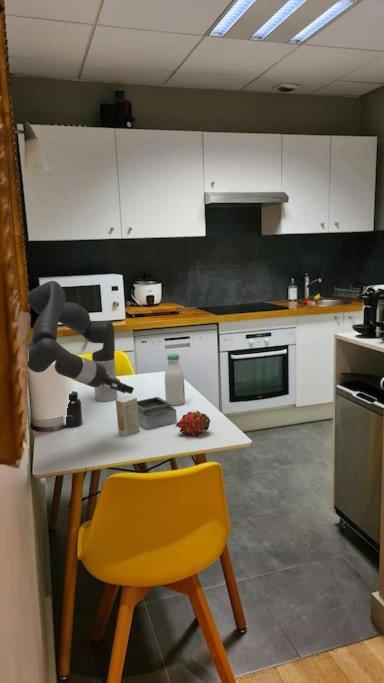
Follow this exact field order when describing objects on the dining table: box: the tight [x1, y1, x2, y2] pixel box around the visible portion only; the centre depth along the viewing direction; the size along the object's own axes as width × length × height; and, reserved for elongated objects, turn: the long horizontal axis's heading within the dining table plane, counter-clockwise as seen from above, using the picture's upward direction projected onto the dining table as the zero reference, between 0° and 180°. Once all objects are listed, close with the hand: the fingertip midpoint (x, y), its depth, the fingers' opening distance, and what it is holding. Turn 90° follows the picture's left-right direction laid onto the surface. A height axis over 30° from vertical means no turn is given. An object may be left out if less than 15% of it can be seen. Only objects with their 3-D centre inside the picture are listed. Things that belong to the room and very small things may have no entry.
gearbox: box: [137, 396, 178, 431], centre depth 183 cm, size 16×12×6 cm
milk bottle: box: [164, 353, 186, 407], centre depth 200 cm, size 8×8×20 cm
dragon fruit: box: [175, 410, 211, 437], centre depth 168 cm, size 8×8×12 cm
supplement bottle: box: [66, 390, 83, 428], centre depth 181 cm, size 7×7×12 cm
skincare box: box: [115, 395, 140, 437], centre depth 171 cm, size 6×4×12 cm
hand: (124, 386), depth 166 cm, fingers open, 8 cm apart
